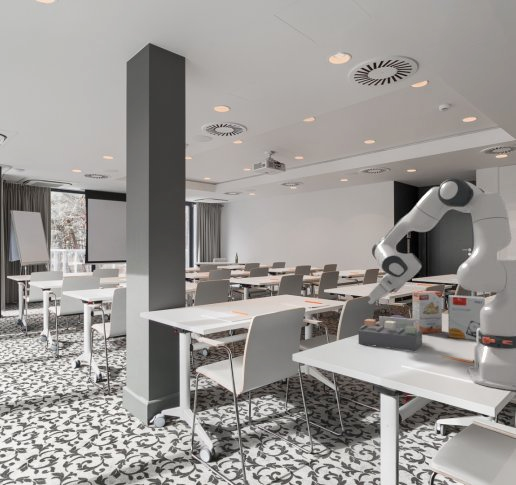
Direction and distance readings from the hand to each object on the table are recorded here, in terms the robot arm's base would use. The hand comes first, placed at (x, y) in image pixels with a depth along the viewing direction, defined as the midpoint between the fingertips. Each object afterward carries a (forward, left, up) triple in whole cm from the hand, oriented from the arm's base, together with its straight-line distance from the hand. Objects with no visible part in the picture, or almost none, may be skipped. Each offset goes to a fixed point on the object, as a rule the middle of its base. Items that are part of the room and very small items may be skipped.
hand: (369, 303), depth 179 cm
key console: (+2, -9, -18) cm, 20 cm away
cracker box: (+36, -19, -18) cm, 44 cm away
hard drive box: (+32, -37, -18) cm, 52 cm away
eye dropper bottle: (+16, -45, -18) cm, 51 cm away
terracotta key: (0, 0, -10) cm, 10 cm away
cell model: (+22, -7, -18) cm, 29 cm away
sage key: (0, -18, -12) cm, 22 cm away
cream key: (0, -9, -10) cm, 14 cm away
